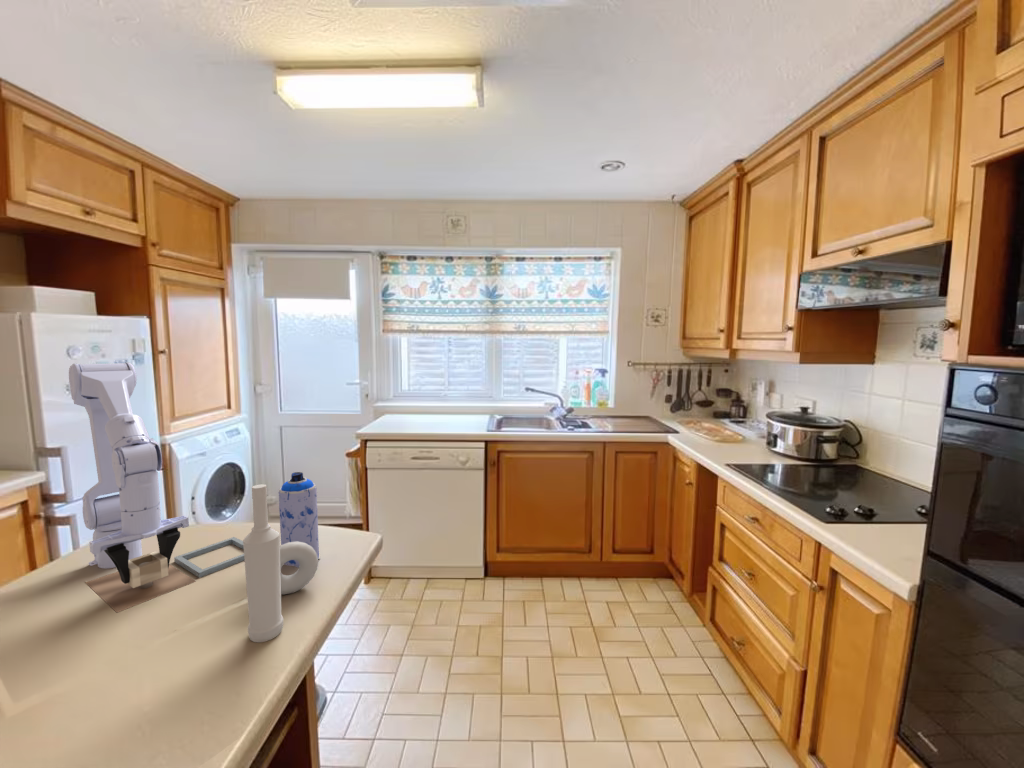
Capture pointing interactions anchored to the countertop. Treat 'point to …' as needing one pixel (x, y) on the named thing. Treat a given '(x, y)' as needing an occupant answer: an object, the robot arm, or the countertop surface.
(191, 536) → the countertop surface
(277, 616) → the bottle
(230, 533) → the countertop surface
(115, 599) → the stake board
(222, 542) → the tray
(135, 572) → the hollow wooden block
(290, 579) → the donut
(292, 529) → the aerosol can
